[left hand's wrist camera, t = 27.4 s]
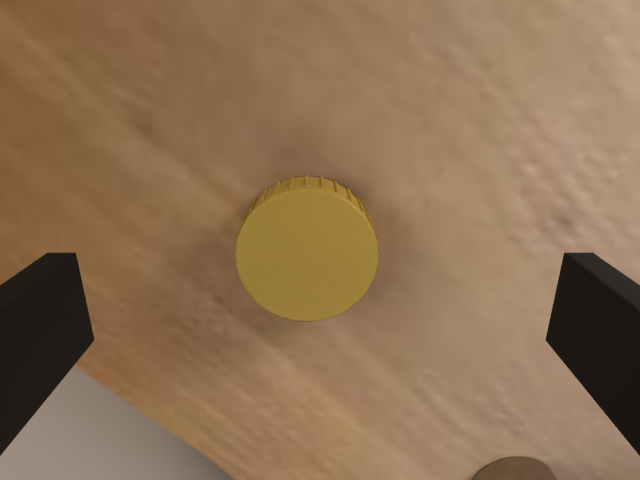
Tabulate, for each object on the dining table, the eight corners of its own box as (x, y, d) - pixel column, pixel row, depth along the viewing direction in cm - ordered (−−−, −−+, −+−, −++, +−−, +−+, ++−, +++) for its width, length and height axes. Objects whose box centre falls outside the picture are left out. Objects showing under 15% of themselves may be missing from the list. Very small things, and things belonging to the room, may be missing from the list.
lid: (387, 276, 20) (396, 300, 18) (269, 312, 20) (264, 339, 18) (351, 155, 18) (356, 166, 16) (221, 199, 19) (209, 214, 16)
